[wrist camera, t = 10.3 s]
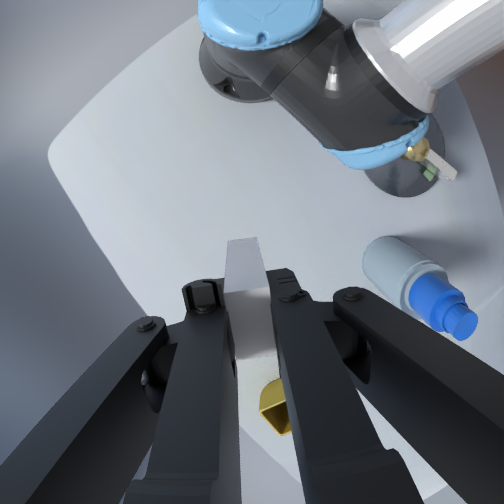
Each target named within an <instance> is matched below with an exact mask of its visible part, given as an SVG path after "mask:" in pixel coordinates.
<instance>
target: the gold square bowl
mask: <svg viewBox="0 0 504 504" xmlns="http://www.w3.org/2000/svg"><path fill="white" fill-rule="evenodd" d="M259 413H260V415H261V416H262V417H263V418H264V419H265V420H266V421H267V422H268V423H269V425H270V426H271V427H272V428H273V429H274V430H275V431H276V433H277V434H278V435H280V436H283V435H286V434H288V433H290V432H292V430H291V425H290V420H289V415H288V410H287V405H286V400H285V394H284V389H283V384H282V379H280V378H279V379H277V380H275V381H273V382H271V383H269V384H268V385H267V386H265V388H264V389H263V390H262V392H261V395H260V405H259Z"/></svg>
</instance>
